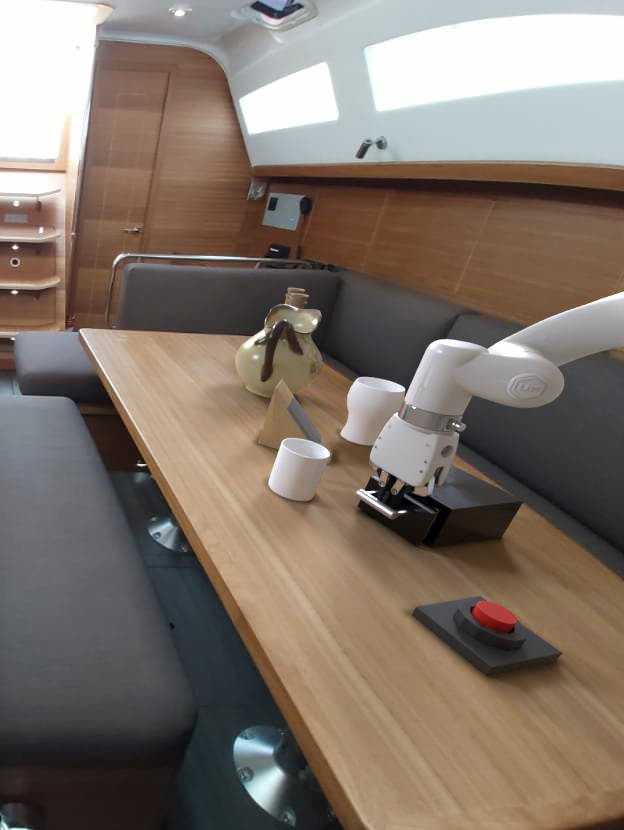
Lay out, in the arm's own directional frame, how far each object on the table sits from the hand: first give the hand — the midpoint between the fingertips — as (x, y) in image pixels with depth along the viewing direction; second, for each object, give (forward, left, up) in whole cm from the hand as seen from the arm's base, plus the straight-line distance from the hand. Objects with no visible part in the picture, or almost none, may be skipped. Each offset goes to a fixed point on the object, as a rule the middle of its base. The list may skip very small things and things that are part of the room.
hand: (384, 507), depth 89 cm
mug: (+5, -15, -5) cm, 17 cm away
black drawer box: (-13, 0, -5) cm, 14 cm away
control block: (+7, +23, -5) cm, 25 cm away
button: (+7, +23, -1) cm, 24 cm away
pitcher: (-28, -61, -5) cm, 67 cm away
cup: (-29, -31, -5) cm, 42 cm away
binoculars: (-52, -86, -5) cm, 100 cm away
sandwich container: (-9, -29, -5) cm, 31 cm away
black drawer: (-7, 0, -4) cm, 8 cm away
